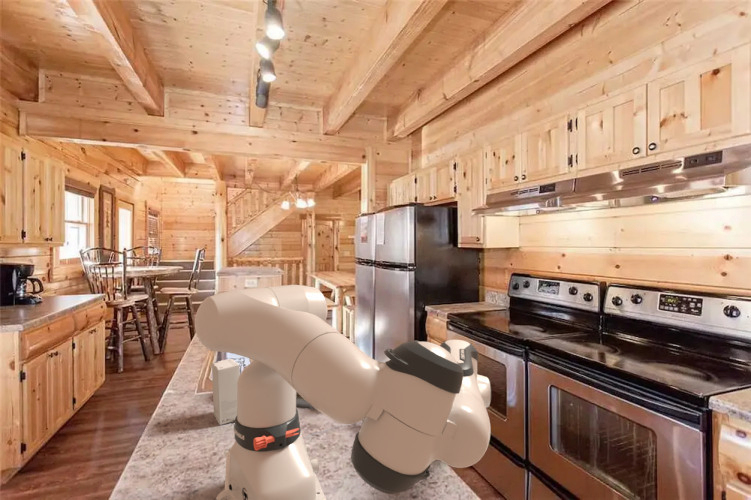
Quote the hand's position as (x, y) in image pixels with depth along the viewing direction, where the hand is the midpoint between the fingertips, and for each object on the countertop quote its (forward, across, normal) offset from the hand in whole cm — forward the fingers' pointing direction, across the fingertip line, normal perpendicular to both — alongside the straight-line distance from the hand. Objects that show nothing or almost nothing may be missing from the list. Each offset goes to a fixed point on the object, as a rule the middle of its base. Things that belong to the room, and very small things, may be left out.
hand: (378, 380), depth 106 cm
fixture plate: (+17, 0, -9) cm, 19 cm away
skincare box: (+39, -15, -9) cm, 43 cm away
